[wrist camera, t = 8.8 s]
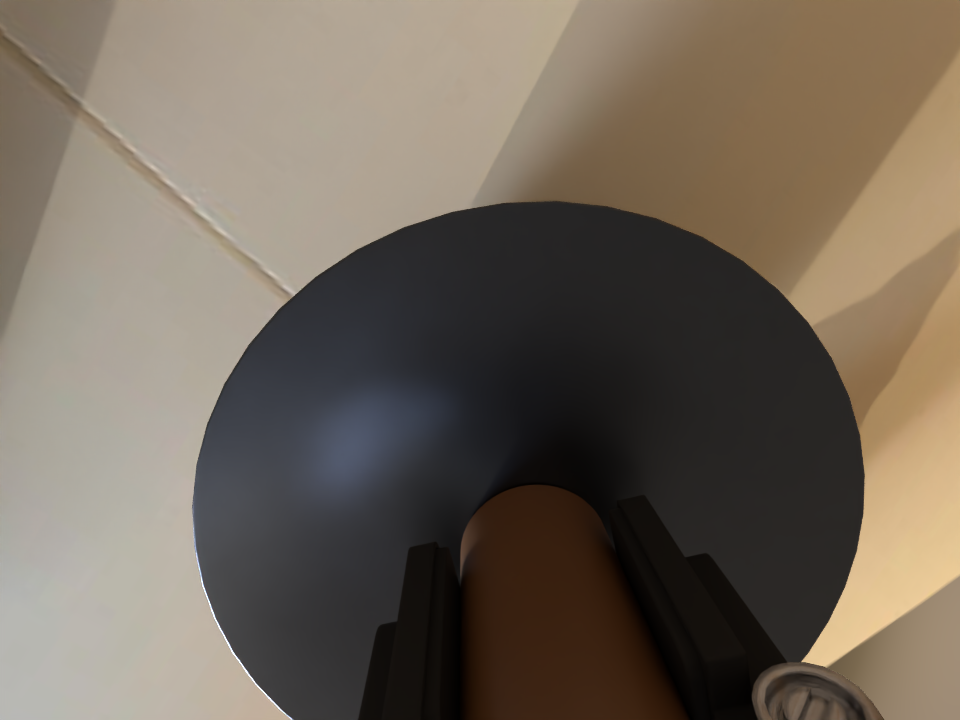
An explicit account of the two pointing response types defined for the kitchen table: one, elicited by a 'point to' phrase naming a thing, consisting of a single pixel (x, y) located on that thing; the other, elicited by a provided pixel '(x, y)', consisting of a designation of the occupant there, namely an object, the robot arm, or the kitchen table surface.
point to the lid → (522, 458)
